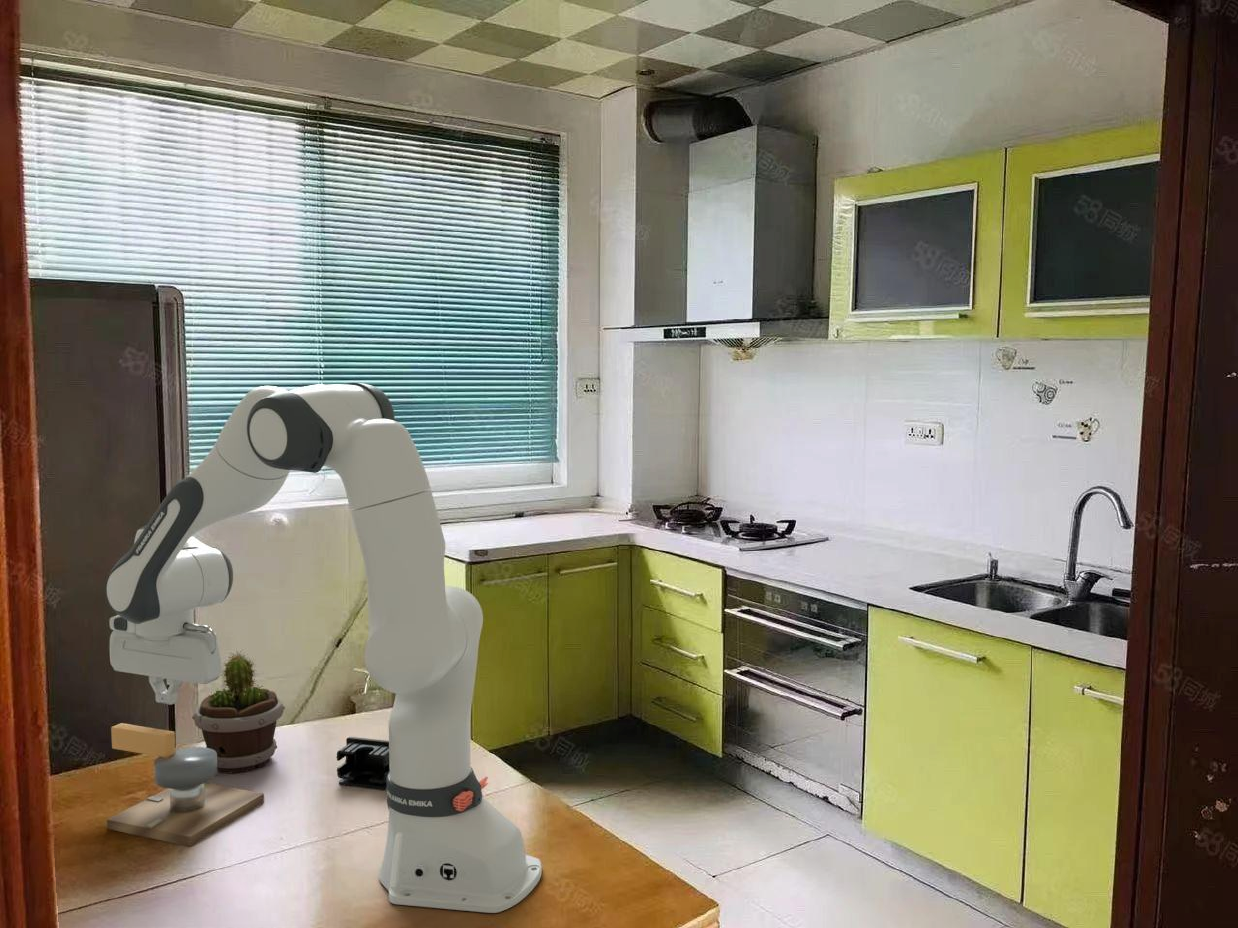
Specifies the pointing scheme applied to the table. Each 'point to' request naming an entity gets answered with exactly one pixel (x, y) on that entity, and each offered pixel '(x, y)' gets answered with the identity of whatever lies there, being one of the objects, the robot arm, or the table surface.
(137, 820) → the base plate
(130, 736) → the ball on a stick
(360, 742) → the black slotted holder
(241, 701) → the flowerpot
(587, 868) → the table surface
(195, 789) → the short grey cylinder
